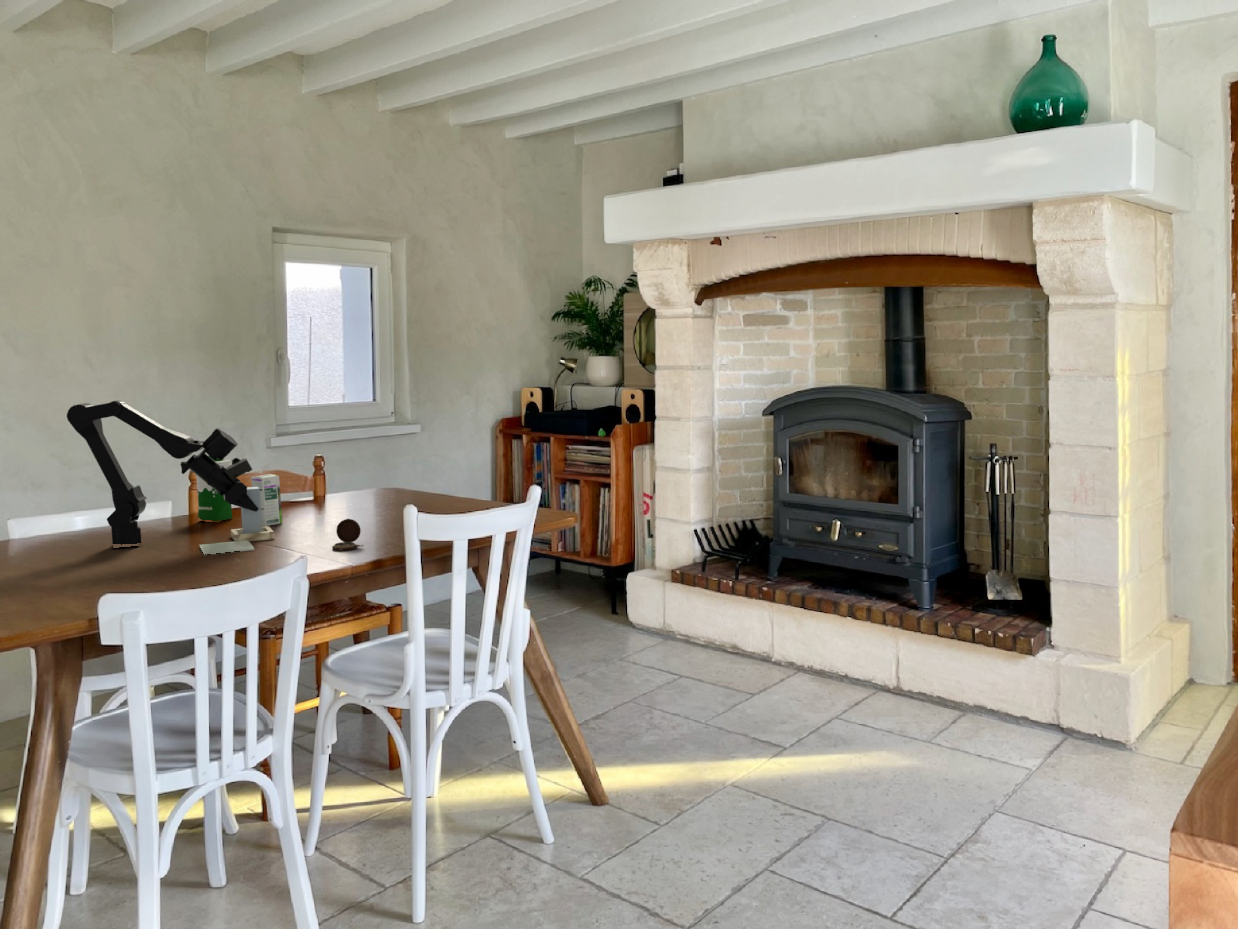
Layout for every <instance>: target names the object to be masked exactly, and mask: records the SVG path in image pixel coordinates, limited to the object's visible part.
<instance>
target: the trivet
mask: <svg viewBox="0 0 1238 929" xmlns="http://www.w3.org/2000/svg"><path fill="white" fill-rule="evenodd" d="M198 546H200V547H199V549H200V548H201V549H200V551H201V550H202V551H201V553H202V552H203V553H202V555H203V554H204V555H203V556H208V555H207V554H211V555H217V554H216V553H221V554H226V553H225V552H231V553H235V552H234V551H240V552H247V551H255V548H254V546H253V545H252V543H251V541H248V540H243V541H234V540H233V541H226V542H225V541H224V542H217V543H216V542H215V543H213V542H212V543H207V544H206V543H204V544H199V545H198ZM205 554H206V555H205Z"/></svg>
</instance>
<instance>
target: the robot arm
mask: <svg viewBox="0 0 1238 929" xmlns="http://www.w3.org/2000/svg"><path fill="white" fill-rule="evenodd" d="M111 417H115V418H117V419H118V420H120V421H122V422H124V423H125V424H127V425H129V426H130V427H131V428H134V429H135V430H137V431H138V432H140V433H142V434H143V435H145V436H147V437H149V438H150V439H152V440H154V441H155V442H156V443H157V444H158V445H159V446H160V447H161V449H162V450H163V451H165V452H166V453H167V454H169V455H170V456H171V457H172V458H174V459H177V460H182V459H185V458H187V457H189V456H190V457H189V458H188V460H187V461H181V462H180V468H181V474H182V475H184V474H186V472H188V470H190V471H191V472H192V473H193V474H195V476H196V475H197V476H199V477H200V478H201V479H202V480H203V481H205V482H206V483H207V484H208V485H209V486H211V487H212V488H213V489H215V490H216V491H217V492H218V493H219V494H220V495H222V496H223V497H224V500H225V501H227V502H228V503H229V504H230V505H231V506H232V505H233V506H236V507H240V508H241V507H242V508H246V509H249V510H252V511H255V512H257V511H258V509H259V508H258V507H257V506H256V505H255V504H254V502H253V501H252V500H251V499H250V497H249V496H248V495H247V487H248V486H247V485H246V484H244V483H243V482H242V481H241V480H240V479H239V478H238V477H240V476H242V475H244V474H246V473H250V472H251V471H252V470H253V468H252V466H251V464H250V463H249V461H248V459H247V458H242V459H240V458H238V457H234V458H232V459H231V464H230V466H229V467H227V468H224V467H223V466H220V465H219V464H218V463H216V462H215V461H214V460H213V459H215V460H217V459H218V458H219V459H221V460H225V458H226V457H227V456H229V454H230V453H232V451H233V450H234V449H235V448H236V447H237V446H238V445H239V444H238V442H237V441H236V440H235V439H234V438H233V436H231V435H230V434H227V432H225V431H223V430H222V429H221V428H219V427H218V428H215V429H214V430H213V431H212V433H211V434H210V435H209V436H208V437H207V438H206V439H205V440H195V439H194V438H192V437H191V436H189V435H188V434H184V433H182V432H179V431H176V430H172V429H169V428H168V427H165V426H163V425H162V424H160V423H158V422H156V421H155V420H153V419H151V418H150V417H148V416H146V415H145V414H143V413H142V412H140V411H138V410H136V409H134V407H132V406H130V405H128V404H127V403H126V402H125V401H123V400H113V401H110V402H107V403H102V404H95V405H94V404H93V403H90V402H89V403H80V404H79V403H78V404H74V405H72V406H71V407H69V409H68V410H67V413H66V419H67V421H68V423H69V424H70V425H71V426H72V428H73V429H74V430H75V432H76V433H77V434H78V435H80V436H81V437H82V438H83V439H84V440H85V441H86V444H87V445H88V447H89V449H90V452H91V453H92V455H93V457H94V459H95V460H96V462H97V465H98V467H99V469H100V470H101V471H102V474H103V476H104V478H105V480H106V481H107V483H108V485H109V487H110V490H111V495H112V496H111V498H112V503H113V506H114V511H113V512H111V514H110V515H109V516H108V517H107V518H106V521H107V524H108V525H109V527H110V528H111V530H110V531H111V545H112V544H121V545H122V544H137V543H140V544H142V532H141V526H139V525H138V520H139V518H140V515H141V514H143V512H144V511H145V509H146V507H147V502H146V500H147V499H148V498H147V496H145V494H144V493H143V491H142V488H141V486H140V485H139V484H138V485H136V486H134V485H133V484H131V483H130V482H129V480H128V478H127V476H126V475H125V472H124V470H123V469H122V467H121V464H120V463H119V460H118V459H117V457H116V456H115V454H114V451H113V449H112V448H111V445H110V443H109V442H108V440H107V438H106V436H105V434H104V429H103V422H102V419H105V418H111ZM201 450H202V451H201ZM199 451H201V452H200V453H198V454H193V453H197V452H199ZM209 456H210V457H212V458H213V459H211V458H210V457H209Z"/></svg>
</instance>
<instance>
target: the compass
mask: <svg viewBox="0 0 1238 929" xmlns="http://www.w3.org/2000/svg"><path fill="white" fill-rule="evenodd" d="M361 532H362V530H361V526H360V524H359V522H357V521H356V520H354V519H351V518H346V519H342V520H341V521H340V522H339V523H338V524H337V527H336V535H337V537H338V539H339V540H340V541H341V542H337V543H334V544H333V546H331V547H332V550H333V551H334V550H335V552H348V550H350V551H354V550H356V549H357V548H361V547H364V546H365V545H364V544H356V543H355V542H356V540H358V539H359V538H360V536H361ZM353 549H354V550H353Z"/></svg>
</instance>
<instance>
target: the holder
mask: <svg viewBox="0 0 1238 929" xmlns="http://www.w3.org/2000/svg"><path fill="white" fill-rule="evenodd" d="M230 538H232V540H233V541H243V540H248V541H249V542H256V541H267V540H275V531H274V530H273V529H272V528H271V527H270V526H262V532H257V533H246V534H243V533H242V528H233V529H230Z"/></svg>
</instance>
